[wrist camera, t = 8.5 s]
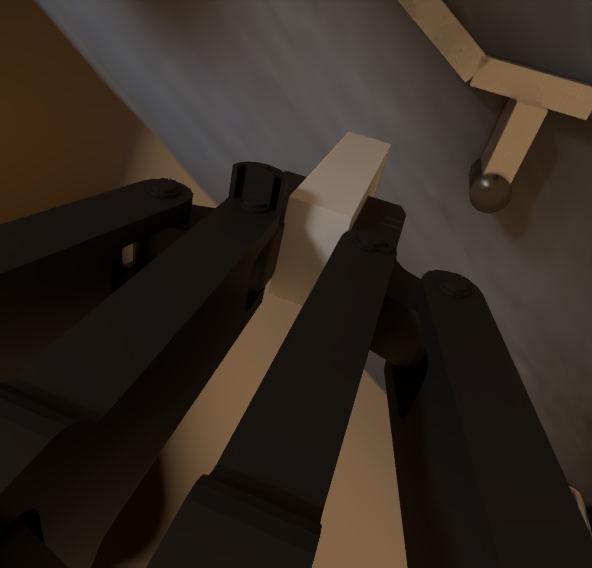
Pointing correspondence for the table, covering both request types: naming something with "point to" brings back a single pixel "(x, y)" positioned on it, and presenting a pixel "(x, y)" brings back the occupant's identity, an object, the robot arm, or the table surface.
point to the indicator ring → (505, 81)
